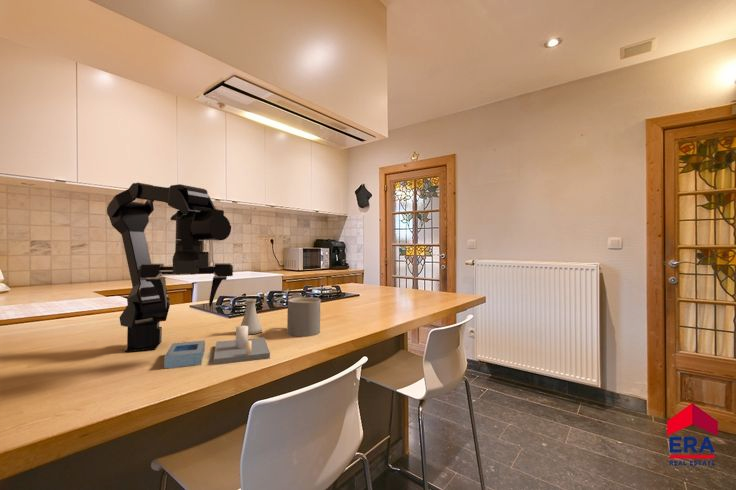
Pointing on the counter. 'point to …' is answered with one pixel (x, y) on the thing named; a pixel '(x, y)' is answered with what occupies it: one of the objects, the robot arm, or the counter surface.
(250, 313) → the flask
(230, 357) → the post board
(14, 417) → the counter surface
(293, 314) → the coffee mug
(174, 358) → the flange plate
